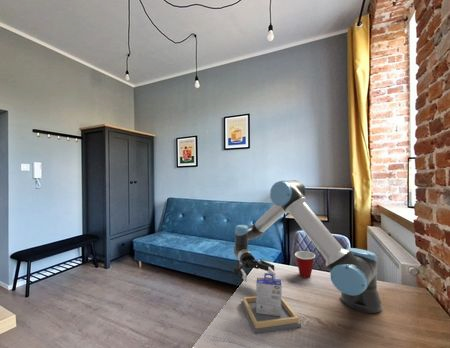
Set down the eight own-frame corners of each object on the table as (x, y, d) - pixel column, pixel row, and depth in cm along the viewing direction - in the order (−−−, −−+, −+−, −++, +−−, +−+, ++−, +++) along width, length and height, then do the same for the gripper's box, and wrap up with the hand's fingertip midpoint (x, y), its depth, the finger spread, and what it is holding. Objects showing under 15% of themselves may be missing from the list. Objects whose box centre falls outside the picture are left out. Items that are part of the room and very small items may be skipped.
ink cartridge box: (281, 308, 90) (281, 273, 90) (281, 317, 85) (282, 279, 85) (256, 305, 92) (256, 271, 92) (255, 313, 86) (256, 277, 86)
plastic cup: (290, 272, 126) (290, 251, 126) (306, 270, 129) (306, 249, 129) (302, 281, 115) (302, 258, 115) (319, 278, 118) (319, 256, 118)
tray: (279, 299, 99) (279, 292, 99) (301, 326, 81) (301, 318, 81) (240, 303, 95) (240, 296, 95) (254, 333, 77) (254, 325, 77)
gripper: (268, 264, 121) (286, 282, 100) (223, 267, 116) (233, 288, 95) (268, 250, 121) (286, 266, 100) (223, 253, 116) (233, 271, 95)
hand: (260, 277), depth 98 cm, fingers open, 13 cm apart
